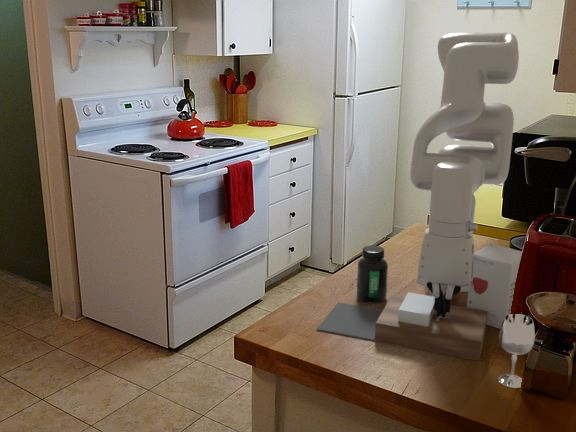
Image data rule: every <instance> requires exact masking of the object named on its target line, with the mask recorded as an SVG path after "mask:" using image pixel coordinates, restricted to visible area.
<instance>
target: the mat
mask: <svg viewBox="0 0 576 432" xmlns="http://www.w3.org/2000/svg"><path fill="white" fill-rule="evenodd" d="M383 310H384V309H380V308H375V307H370V306H369V307H368V306H362V305H357V304H350V303H345V302H339V301H338V302H337V303H336V304H335V305H334V306H333V308H332V309H331V311H329V313H328V314H327V315H326V317H325V318H324V320H323V321H322V322H321V323H320V324H319V326H318V327H317V328H316V330H317V331H320V332H323V333H325V332H326V333H330V334H336V335H340V336H346V337H351V338H356V339H361V340H365V341H366V340H367V341H374V342H375V326H376V322H377V320H378V318H379V316H380V315H381V313H382V311H383Z"/></svg>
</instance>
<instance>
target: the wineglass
mask: <svg viewBox="0 0 576 432" xmlns="http://www.w3.org/2000/svg"><path fill="white" fill-rule="evenodd" d="M498 340H499V344H500V346H501V348H502V349H503V350H504V351H505V352H507V353H509V354H511V357H510V360H511V369H510V370H511V372H510V373H502V374H501V375H500V374H499V376H498V378H497V381H498V382H499V384H501V385H502V386H504V387H507V388H512V389H521V388H522V387H521V382H522V379H523V378H522V377H521V376H519V375H516V374H515V367H516V363H517V362H518V356H522V355H526V354H528V353H530V352H531V350H532V349H533V348H534V345H535V342H536V341H535V340H536V329H535V324H534V320H533V318H531V317H530V316H528V315H525V314H522V313H521V314H508V315H506V316H505V317H504V320H503V322H502V325H501V328H500V329H499V333H498ZM532 347H533V348H532Z"/></svg>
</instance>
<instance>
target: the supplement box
mask: <svg viewBox="0 0 576 432" xmlns="http://www.w3.org/2000/svg"><path fill="white" fill-rule="evenodd" d="M522 252H523V251H522V250H518V249H514V248H510V247H506V246H501V245H497V244H494V243H489V244H487V245H485V246H483V247H482V248H480V249H478V250H476V251H474V263H473V275H472V278H471V281H472V286H473V287H472V290H471V291H468V292H467V301H466V308H472V309H478V310H484V311H488V314H487V323H486V326H490V327H493V328H495V329H499V330H500V328H501V325H502V322H503V320H504V317H505V316H506V315H508V314H510V313H511V306H512V301H513V295H514V288H515V282H516V278H517V273H518V268H519V263H520V259H521V255H522Z"/></svg>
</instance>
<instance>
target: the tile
mask: <svg viewBox="0 0 576 432" xmlns="http://www.w3.org/2000/svg"><path fill="white" fill-rule="evenodd" d="M404 298H405V299H404V301H403V303H402V304H401V306H400V308H399V312H398V321H400V322H405V323H411V324H416V325H421V326H427V327H428V326H429V324H430V322H431V319H432V317H433V314H434V312H435V310H434V303H435V297H433V296H427V295H426V294H419V293H415V292H407V293H406V295H405V297H404Z"/></svg>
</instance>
